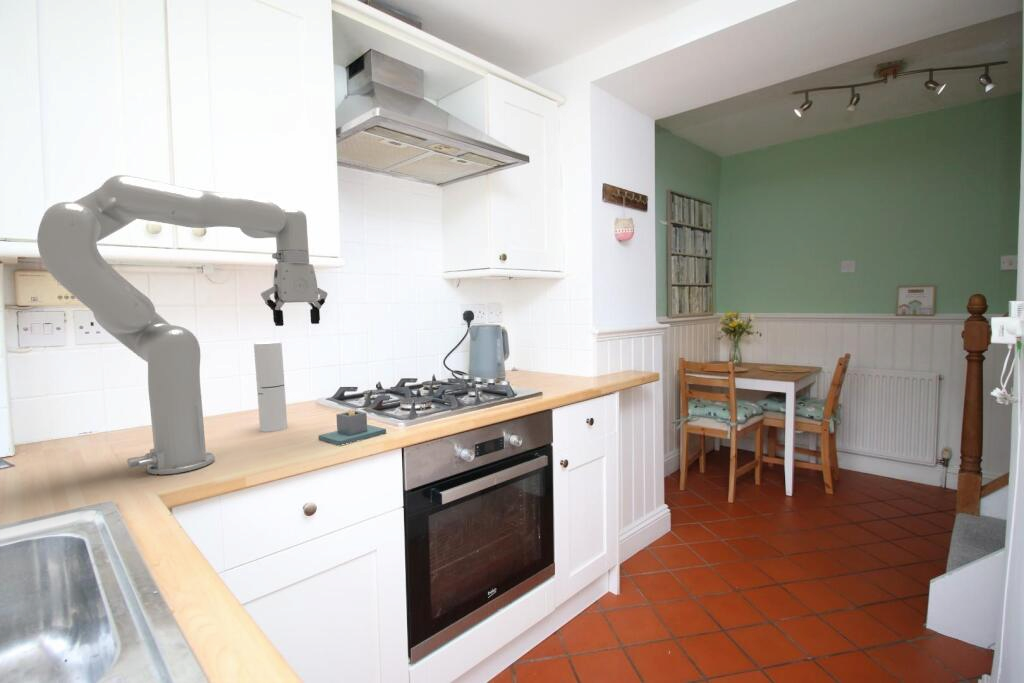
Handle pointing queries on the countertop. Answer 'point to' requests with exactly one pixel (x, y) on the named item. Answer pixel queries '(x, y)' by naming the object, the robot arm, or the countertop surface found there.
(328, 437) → the teal peg base
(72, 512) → the countertop surface
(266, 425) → the grey piece
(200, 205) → the robot arm
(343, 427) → the grey square nut block
